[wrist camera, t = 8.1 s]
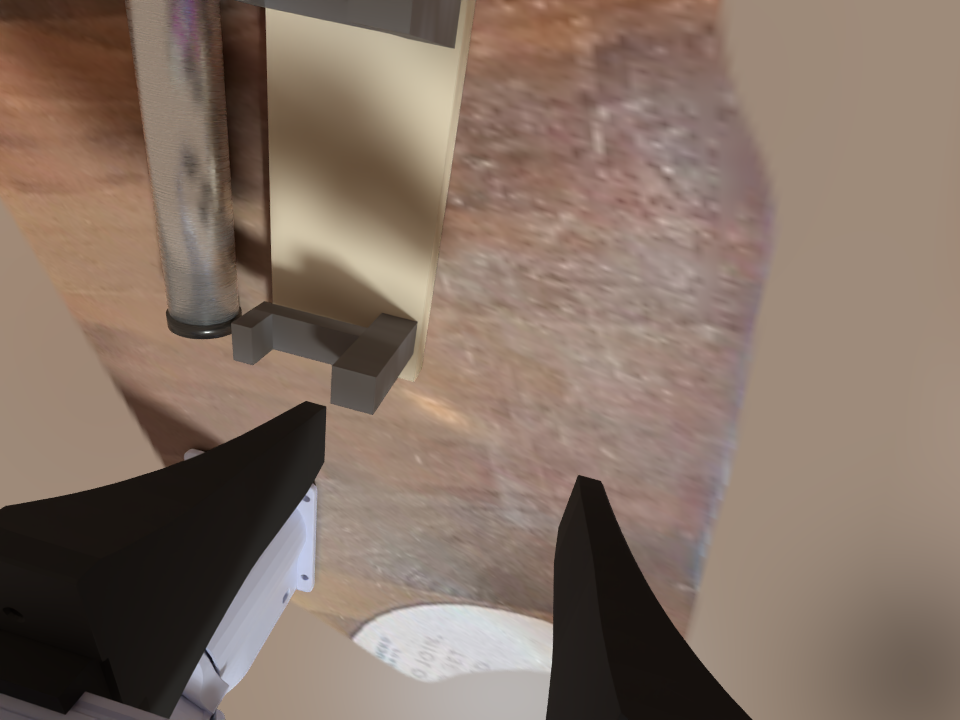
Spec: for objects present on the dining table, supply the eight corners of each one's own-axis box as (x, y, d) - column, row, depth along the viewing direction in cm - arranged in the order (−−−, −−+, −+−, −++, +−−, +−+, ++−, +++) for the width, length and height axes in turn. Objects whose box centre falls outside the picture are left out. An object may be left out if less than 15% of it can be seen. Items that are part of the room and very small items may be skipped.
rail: (255, 319, 24) (213, 345, 22) (199, 303, 25) (151, 327, 22) (237, -82, 17) (169, -114, 14) (157, -97, 17) (77, -131, 15)
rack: (421, 369, 24) (375, 446, 19) (286, 333, 24) (204, 399, 19) (484, -57, 16) (434, -129, 11) (283, -96, 16) (142, -182, 11)
